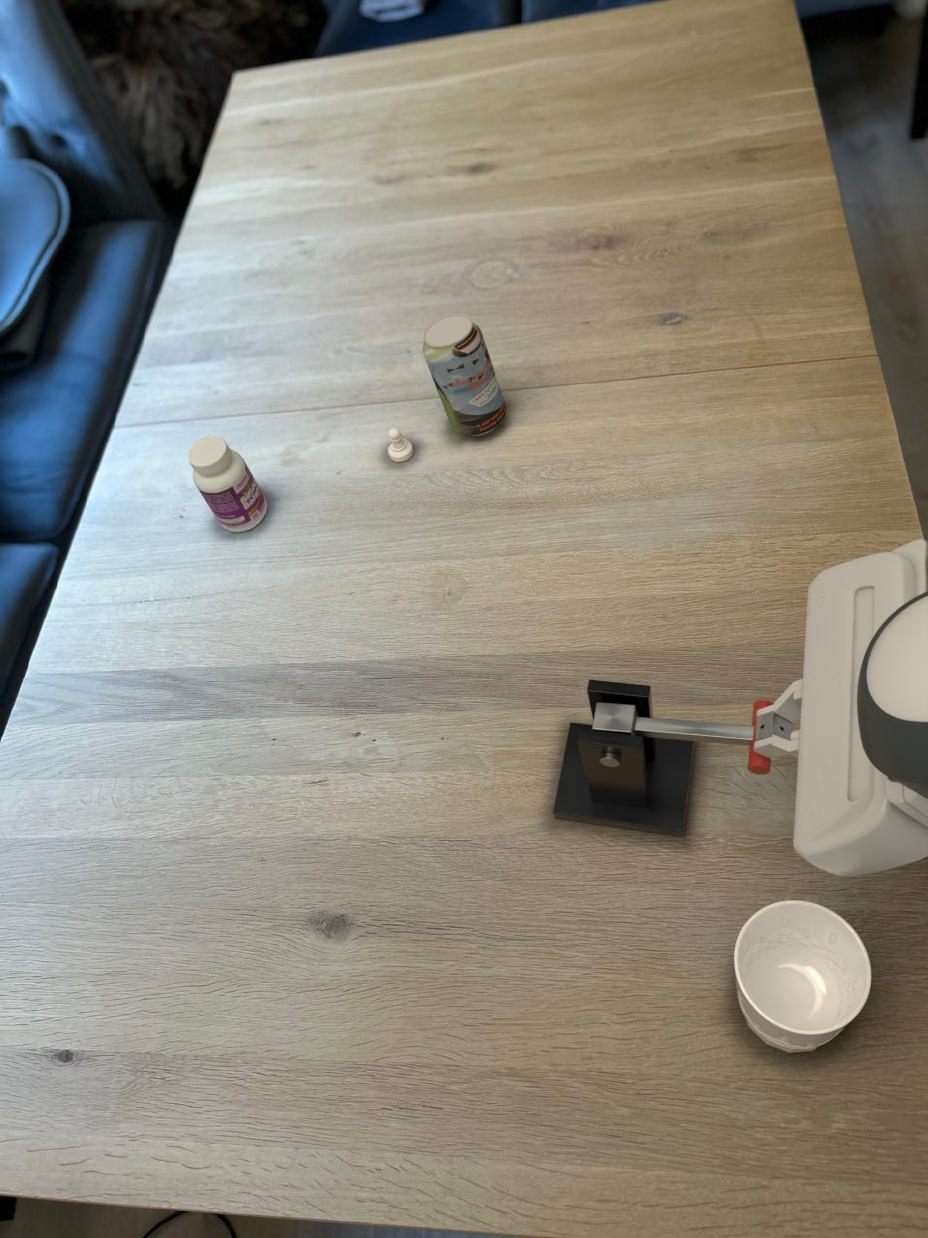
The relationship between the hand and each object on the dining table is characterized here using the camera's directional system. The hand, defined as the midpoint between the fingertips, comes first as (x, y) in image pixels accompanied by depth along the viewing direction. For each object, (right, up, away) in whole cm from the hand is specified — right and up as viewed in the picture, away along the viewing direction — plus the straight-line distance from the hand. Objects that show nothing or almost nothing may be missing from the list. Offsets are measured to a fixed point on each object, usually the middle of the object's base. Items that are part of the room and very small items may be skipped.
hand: (761, 734), depth 67 cm
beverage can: (-19, +28, +37) cm, 51 cm away
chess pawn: (-26, +25, +37) cm, 52 cm away
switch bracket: (-7, -5, +13) cm, 15 cm away
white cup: (+2, -19, +2) cm, 19 cm away
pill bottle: (-43, +19, +37) cm, 59 cm away
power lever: (-4, -1, +4) cm, 6 cm away
